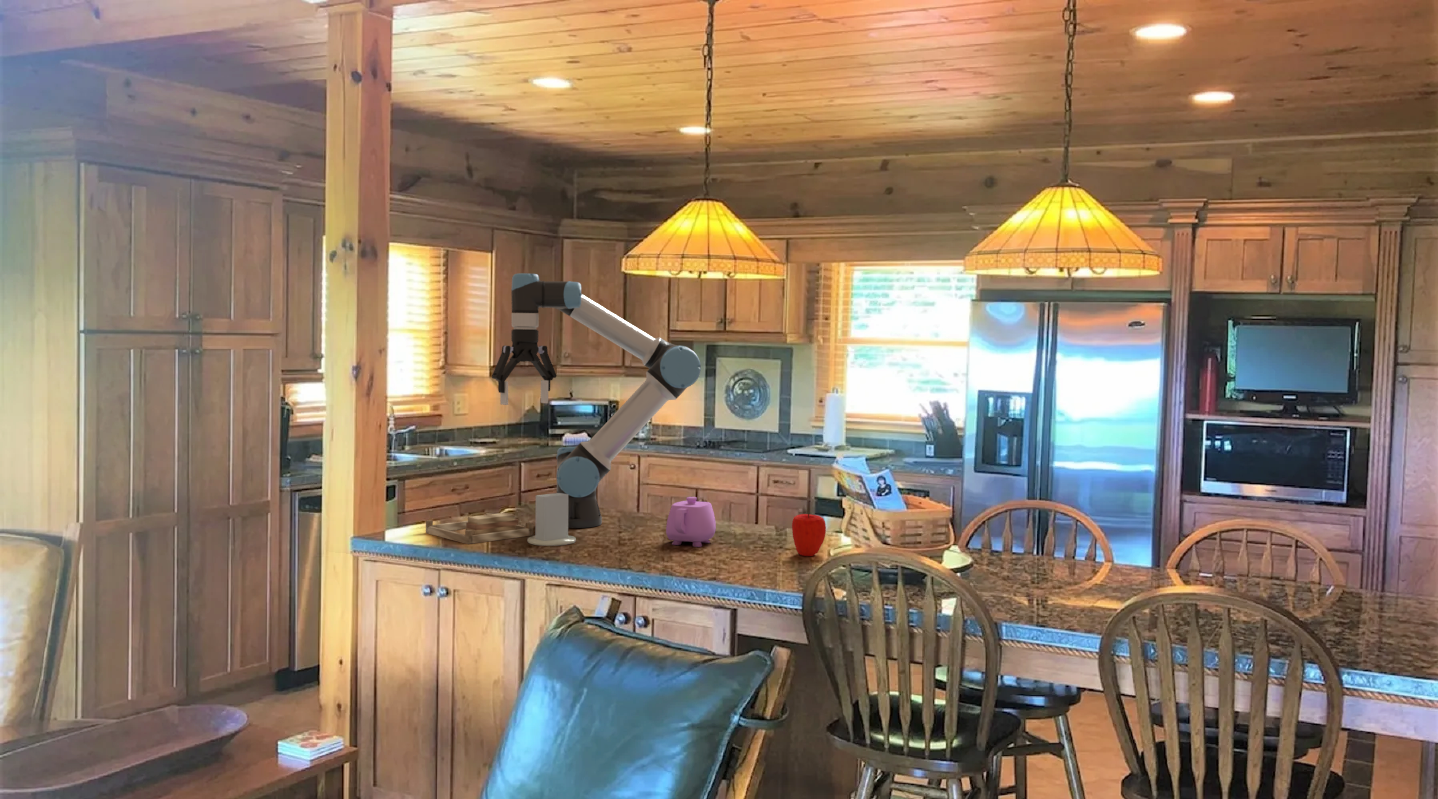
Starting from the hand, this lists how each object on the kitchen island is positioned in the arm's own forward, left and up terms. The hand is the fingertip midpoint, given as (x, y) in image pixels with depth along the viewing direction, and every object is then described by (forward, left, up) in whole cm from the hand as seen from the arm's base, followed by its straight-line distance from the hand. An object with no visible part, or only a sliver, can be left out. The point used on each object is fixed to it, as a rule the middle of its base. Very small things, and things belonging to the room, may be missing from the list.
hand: (524, 403), depth 325 cm
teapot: (-26, +42, -37) cm, 62 cm away
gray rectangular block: (+2, +16, -36) cm, 39 cm away
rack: (+11, -6, -37) cm, 39 cm away
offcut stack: (+11, +1, -37) cm, 38 cm away
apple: (-38, +74, -37) cm, 91 cm away
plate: (+2, +16, -37) cm, 40 cm away
